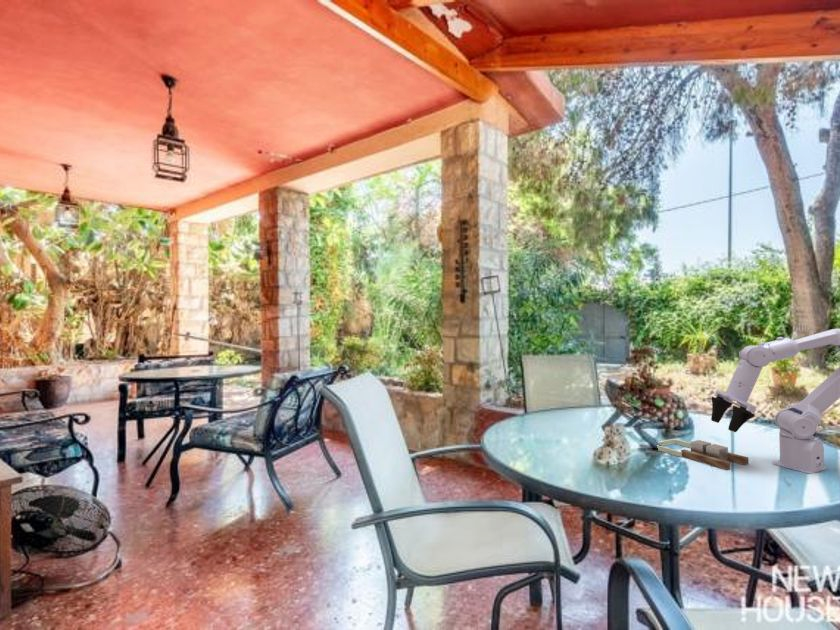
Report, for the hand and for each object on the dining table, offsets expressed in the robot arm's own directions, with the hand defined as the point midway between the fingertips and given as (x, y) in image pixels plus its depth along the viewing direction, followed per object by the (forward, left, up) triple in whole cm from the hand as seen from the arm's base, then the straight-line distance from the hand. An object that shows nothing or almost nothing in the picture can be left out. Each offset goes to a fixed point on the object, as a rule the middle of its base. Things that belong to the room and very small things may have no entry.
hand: (723, 426), depth 138 cm
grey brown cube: (+1, +1, -11) cm, 11 cm away
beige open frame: (+14, +1, -11) cm, 18 cm away
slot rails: (+2, +1, -11) cm, 11 cm away
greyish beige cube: (+6, +1, -11) cm, 13 cm away
